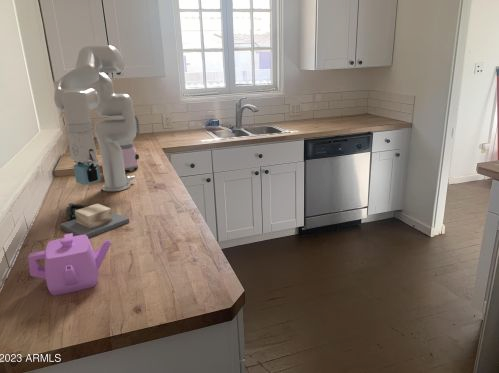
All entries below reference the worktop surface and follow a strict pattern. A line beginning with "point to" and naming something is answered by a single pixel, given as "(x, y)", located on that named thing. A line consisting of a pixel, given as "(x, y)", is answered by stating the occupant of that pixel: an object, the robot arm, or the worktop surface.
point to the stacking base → (96, 229)
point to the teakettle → (68, 264)
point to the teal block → (84, 173)
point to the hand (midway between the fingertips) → (88, 178)
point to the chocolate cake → (73, 210)
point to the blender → (128, 148)
